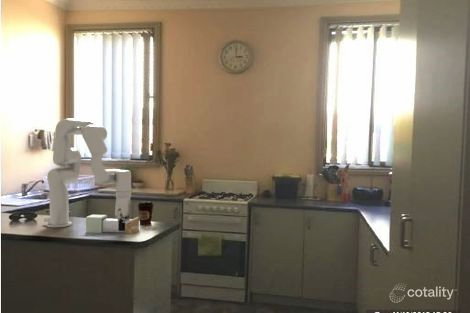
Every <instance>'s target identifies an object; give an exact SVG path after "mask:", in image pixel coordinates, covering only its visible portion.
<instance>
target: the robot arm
mask: <svg viewBox="0 0 470 313" xmlns="http://www.w3.org/2000/svg"><path fill="white" fill-rule="evenodd" d="M54 134H55V135H54V136H55V138H54V146H53V151H52V152H53V153H52V154H53V155H52V162H53V164H55V165H56V166H61V167H55V168H52V169H50V170H49V171H48V172H47V179H46V180H47V183H48V190H49V216H48V217H44V218H43V222H45V223H46V222H47V223H46V226H47V227H48V228H65V227H70V226H72V224H73V223H72V221H70V219H69V218H70V216H69V213H70V212H69V211H70V210H69V209H70V207H69V205H70V204H69V203H70V202H69V190H68V187H67V186H66V185H70V184H71V185H72V184H74V183H76V182H77V181H78V179H79V177H80V170H81V162H82V154H81V151H79V149H78V148H75V147H72V144H73V140H72V137H71V135H81V136H82V139H83V140H84V143H85V144H86V147H87V149H88V151H89V153H90V155H91V158H90V169H91V172H92V173H91V174H92V175H93V177H94V178H95V180H96V182H97V183H98V184H100V185H103V186H105V185H112V184H115V206H114V207H115V208H114V216H115V218H116V219H118V230H119V231H125V223H124V219H130V215H131V210H132V209H131V207H132V206H131V197H132V172H131V170H128V169H117V168H112V169H111V168H109V169H105V166H104V163H103V156H104V155H105V154H106V153H107V152H108V148H107V145H106V143H105V142H104V140H106V139H107V136H108V131H107V129H106V128H105V127H104V125H101V124H99V123H95V122H93V121H91V120H88V119H83V118H64V119H61V120H59V121H58V122H57V123H56V126H55V133H54ZM62 166H63V167H62ZM122 219H123V220H122Z"/></svg>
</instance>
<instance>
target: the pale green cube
mask: <svg viewBox="0 0 470 313" xmlns="http://www.w3.org/2000/svg"><path fill="white" fill-rule="evenodd" d="M103 218H105V219H108V214H90V215H88V216H86V217H85V232H86V233H93V234H95V233H97V234H99V233H101V234H102V233H103V232H102V219H103Z"/></svg>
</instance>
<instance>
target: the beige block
mask: <svg viewBox="0 0 470 313" xmlns="http://www.w3.org/2000/svg"><path fill="white" fill-rule="evenodd" d="M132 219H133V220H131V224H127V223H126V224H125V233H124V234H125V235H135V234H136V233H137V232H139V231H140V221H139V216H136V217H134V218H132Z"/></svg>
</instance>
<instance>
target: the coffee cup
mask: <svg viewBox="0 0 470 313" xmlns="http://www.w3.org/2000/svg"><path fill="white" fill-rule="evenodd" d="M137 208H138V217H139V226H142V227H146V226H152V218H153V214H154V213H153V212H154V211H153V209H154V203H153V201H151V200H148V201H147V200H144V201H139V202H138V204H137Z"/></svg>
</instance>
